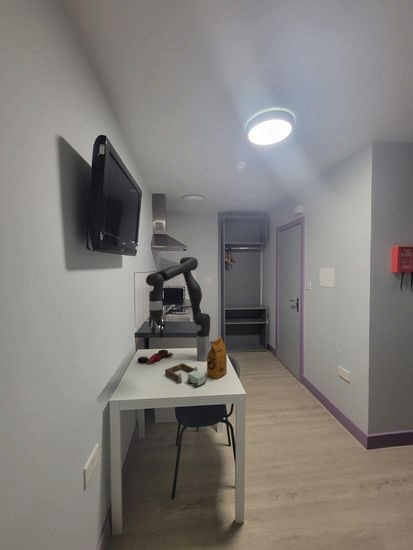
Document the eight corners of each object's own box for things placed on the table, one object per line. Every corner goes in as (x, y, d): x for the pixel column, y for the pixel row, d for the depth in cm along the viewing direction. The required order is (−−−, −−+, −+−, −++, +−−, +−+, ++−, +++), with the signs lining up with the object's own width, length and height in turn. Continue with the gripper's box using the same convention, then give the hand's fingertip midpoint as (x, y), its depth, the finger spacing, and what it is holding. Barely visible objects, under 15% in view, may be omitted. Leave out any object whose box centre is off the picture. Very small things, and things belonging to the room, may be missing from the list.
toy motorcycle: (135, 364, 166) (147, 366, 155) (135, 356, 167) (147, 358, 156) (164, 355, 184) (177, 356, 173) (163, 348, 185) (176, 349, 174)
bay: (182, 368, 154) (182, 360, 154) (198, 375, 144) (197, 367, 143) (165, 375, 145) (164, 367, 145) (179, 383, 134) (179, 375, 134)
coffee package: (204, 376, 143) (203, 340, 142) (216, 368, 152) (215, 335, 152) (217, 380, 136) (216, 343, 136) (229, 372, 146) (228, 338, 145)
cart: (206, 383, 133) (206, 374, 133) (197, 388, 128) (196, 378, 128) (195, 378, 140) (195, 369, 139) (186, 382, 135) (186, 373, 135)
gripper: (168, 309, 132) (169, 337, 133) (155, 306, 142) (156, 332, 143) (156, 311, 127) (157, 340, 128) (144, 308, 137) (145, 335, 138)
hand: (157, 336), depth 135 cm, fingers open, 8 cm apart
